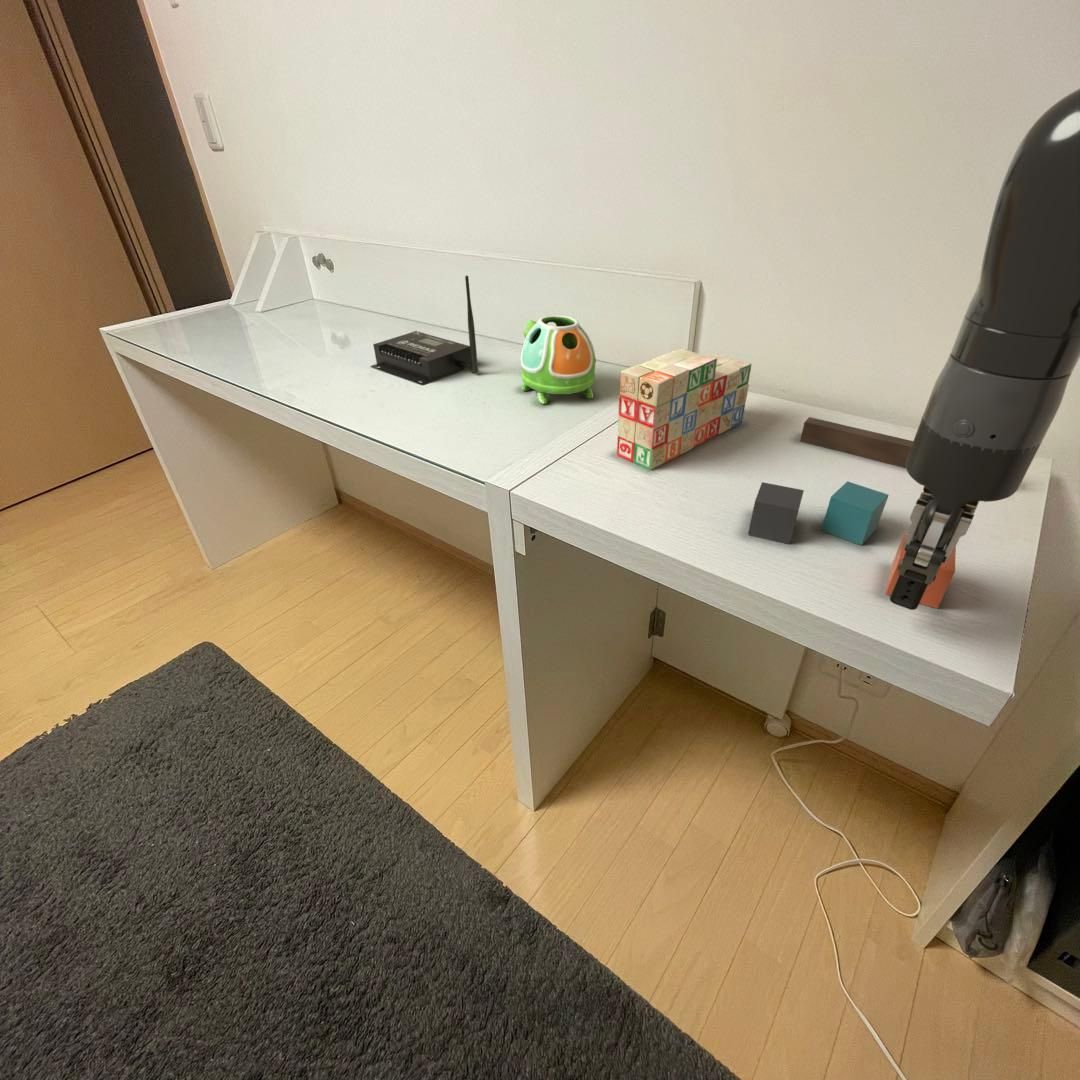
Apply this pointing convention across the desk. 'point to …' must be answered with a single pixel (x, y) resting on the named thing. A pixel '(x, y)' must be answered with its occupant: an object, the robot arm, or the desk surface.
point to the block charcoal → (775, 512)
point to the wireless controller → (427, 354)
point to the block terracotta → (933, 590)
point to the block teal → (854, 512)
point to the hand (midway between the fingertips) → (903, 601)
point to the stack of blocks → (678, 404)
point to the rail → (856, 441)
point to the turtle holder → (557, 358)
